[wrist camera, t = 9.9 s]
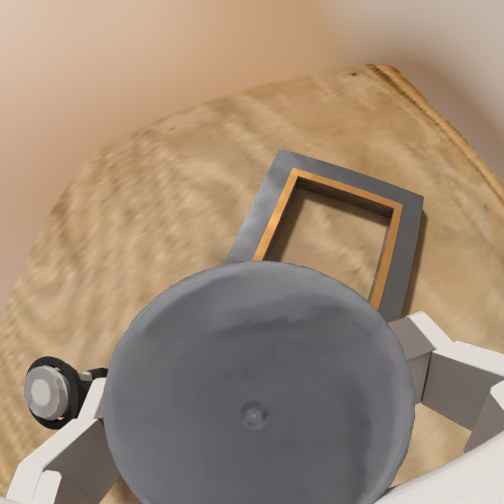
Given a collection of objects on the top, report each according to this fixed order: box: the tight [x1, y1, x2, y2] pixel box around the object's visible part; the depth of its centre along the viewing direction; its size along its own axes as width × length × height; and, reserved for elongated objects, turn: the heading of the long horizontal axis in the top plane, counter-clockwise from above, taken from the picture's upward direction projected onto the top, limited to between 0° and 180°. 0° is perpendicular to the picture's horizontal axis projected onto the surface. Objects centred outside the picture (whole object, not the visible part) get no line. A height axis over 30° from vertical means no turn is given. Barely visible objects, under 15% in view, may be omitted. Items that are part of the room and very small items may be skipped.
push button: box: [24, 356, 108, 430], centre depth 21 cm, size 7×5×10 cm
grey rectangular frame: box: [224, 149, 424, 323], centre depth 27 cm, size 16×30×2 cm, turn 157°
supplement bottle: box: [103, 261, 415, 504], centre depth 8 cm, size 6×6×11 cm
